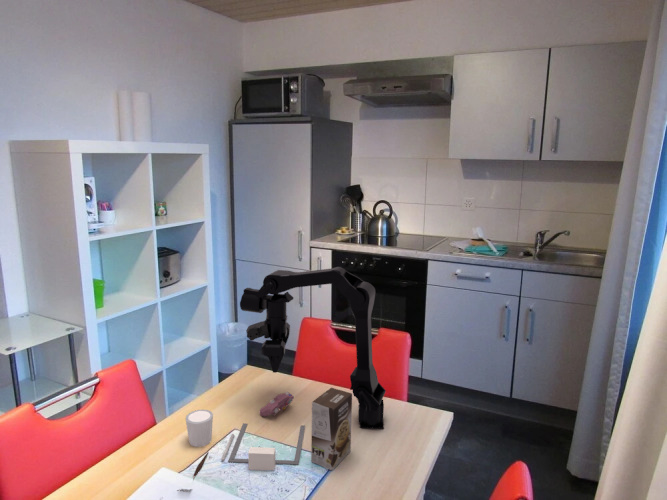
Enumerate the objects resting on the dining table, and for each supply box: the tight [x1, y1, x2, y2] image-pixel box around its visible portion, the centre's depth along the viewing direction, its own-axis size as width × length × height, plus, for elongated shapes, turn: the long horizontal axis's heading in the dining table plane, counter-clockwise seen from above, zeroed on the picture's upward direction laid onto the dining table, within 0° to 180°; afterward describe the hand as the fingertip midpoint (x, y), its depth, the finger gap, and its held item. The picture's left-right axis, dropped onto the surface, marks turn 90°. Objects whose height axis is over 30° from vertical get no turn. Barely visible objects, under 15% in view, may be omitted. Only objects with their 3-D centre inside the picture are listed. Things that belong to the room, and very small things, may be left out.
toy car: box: [258, 391, 295, 418], centre depth 138 cm, size 10×5×7 cm, turn 143°
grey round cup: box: [185, 409, 214, 448], centre depth 123 cm, size 7×7×7 cm
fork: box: [176, 452, 209, 493], centre depth 111 cm, size 3×16×2 cm, turn 174°
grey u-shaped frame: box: [220, 422, 306, 471], centre depth 122 cm, size 19×19×4 cm
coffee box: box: [310, 387, 353, 471], centre depth 117 cm, size 9×6×16 cm
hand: (276, 365), depth 140 cm, fingers open, 9 cm apart
